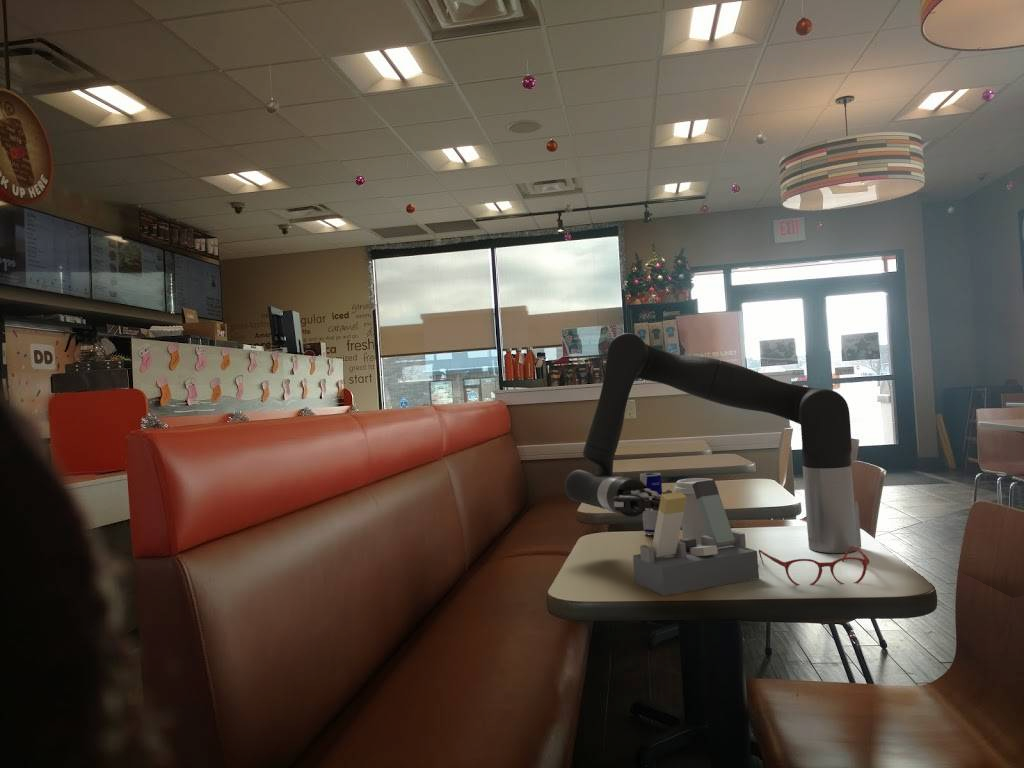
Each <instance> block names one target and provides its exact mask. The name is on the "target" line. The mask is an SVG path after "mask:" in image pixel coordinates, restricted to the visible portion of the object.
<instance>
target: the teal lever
mask: <svg viewBox="0 0 1024 768" xmlns="http://www.w3.org/2000/svg"><path fill="white" fill-rule="evenodd" d="M716 485H717V484H716V481H715V479H713V480H707V481H700V482H696V483H694V484H693V485H692V486H693V489H694V492H695V495H696V498H697V501H698V504H699V507H700V510H701V513H702V517H703V520H704V523H705V526H706V529H707V532H708V535H709V537H713V538H715V543H716V546H717V548H719V547H725V546H731V545H736V539H735V538H734V536H733V533H732V531H733V530H732V528H731V524H730V522H729V519H728V515H727V514H726V509H725V507H724V504H723V502H722V499H721V495H720V493H719V490H718V489H719V488H718V489H717V487H718V485H717V486H716Z"/></svg>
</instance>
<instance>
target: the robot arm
mask: <svg viewBox="0 0 1024 768" xmlns="http://www.w3.org/2000/svg"><path fill="white" fill-rule="evenodd" d="M636 379H637V380H644V381H649V382H654V383H658V384H659V383H660V384H663V385H667V386H669V387H672V388H674V389H676V390H679V391H681V392H684V393H686V394H688V395H689V394H690V395H692V396H695V397H697V398H700V399H704V400H706V401H710V402H713V403H716V404H719V405H724V406H727V407H731V408H735V409H736V408H737V409H741V410H746V411H747V410H748V411H753V412H754V411H756V412H762V413H768V414H771V415H774V416H777V417H781V418H782V419H785V420H789V421H791V422H794V423H796V424H798V425H800V431H801V432H800V433H801V461H802V474H803V475H802V476H803V477H802V478H803V490H804V500H805V501H804V502H805V517H806V526H807V527H806V528H807V530H806V531H807V538H808V548H809V550H812V551H815V552H820V553H827V554H845V553H846V552H847V550H848V549H849V548H850V547H857V548H858V549H861V548H862V536H861V524H860V512H859V511H860V509H859V503H858V501H857V500H855V498H854V497H855V495H854V484H853V483H854V482H853V473H852V472H853V471H852V449H853V447H852V446H853V445H852V430H851V429H852V428H851V427H852V426H851V415H850V408H849V405H848V402H847V401H846V399H845V398H844V397H843V395H842V394H840V393H838V392H837V391H835V390H832V389H827V388H817V387H816V388H815V387H809V386H803V385H797V384H792V383H788V382H784V381H780V380H776V379H774V378H772V377H770V376H767V375H765V374H763V373H761V372H758V371H757V370H753V369H750V368H747V367H745V366H743V365H739V364H735V363H732V362H729V361H728V362H727V361H726V360H720V359H718V358H717V359H716V358H713V357H712V358H711V357H706V356H698V355H697V356H696V355H686V354H677V353H674V352H673V353H672V352H669V351H665V350H664V349H663V350H662V349H660V348H657V347H655V346H653V345H649V344H648V343H646V342H645V341H644V340H643V339H642V338H641V337H640V336H639V335H638V334H635V333H631V332H624V333H620V334H618V335H616V336H615V337H614V338H613V339H612V340H611V341H610V343H609V345H608V347H607V351H606V362H605V369H604V376H603V381H602V387H601V390H600V396H599V399H598V402H597V405H596V410H595V411H594V415H593V418H592V421H591V425H590V428H589V430H588V433H587V437H586V441H585V445H584V448H583V452H582V455H583V458H584V459H586V460H587V461H589V462H590V463H592V464H594V465H595V467H596V468H595V469H596V473H593V472H589V471H587V470H583V469H576V470H573V471H571V472H570V473H569V474H567V476H566V478H565V481H564V492H565V494H566V496H567V497H568V498H569V499H570V500H572V501H574V502H577V503H582V504H585V505H589V506H592V507H596V508H600V509H604V510H606V511H607V510H608V511H609V512H611V513H612V514H613V513H614V514H616V515H620V516H624V517H628V518H637V517H639V516H641V515H643V513H644V512H646V511H655V510H656V511H659V505H660V499H661V495H659V494H658V493H657V492H655V491H651V489H648V488H647V487H646V485H645V484H644V483H643V482H641V481H640V479H636V478H632V477H625V476H619V475H618V476H613V474H614V473H613V472H614V460H615V455H616V452H617V449H618V446H619V442H620V439H621V435H622V431H623V430H622V429H623V426H624V422H625V421H624V420H625V414H626V408H627V404H628V400H629V397H630V393H631V389H632V387H633V385H634V383H635V380H636ZM669 493H673V490H671V489H670V490H669V489H668V490H665V491H662V494H669ZM855 551H857V550H856V549H855V548H852V549H851V550H850V551H849V552H848V553H852V552H853V553H854V552H855Z"/></svg>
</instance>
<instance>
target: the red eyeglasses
mask: <svg viewBox="0 0 1024 768" xmlns="http://www.w3.org/2000/svg"><path fill="white" fill-rule="evenodd" d="M852 548H855V549H856V551H857V552H859V554H860V555H861V556H862V557H863V558H860V557H847V556H848V553H850V552H849V551H850V550H851V549H852ZM758 553H759V558H760V560H761V563H762V565H765V564H764V560H763V558H762V555H764V556H765V557H767V558H769V559H770V560H771V561H773V562H774V563H776V564H778V565H779V566H782V567H784V569H785V573H786V575H787V578H788V579H789V581H790V582H791V583H793V584H794V585H796V586H800V585H801V584H799V583H797V582H796V581H794V580H793V579H792V577H791V576H790V574H789V567H790V566H791V565H793V564H794V563H798V562H811V563H814V564H815V565H817V567H818V573H817V576H816V578H815V580H813V582H812V583H809V584H810V586H814V585H816V584H817V583H818V581H819V580H820V579H821V576H822V574H823V567H824V568H825V567H829V569H830V573H831V576H832V577H833V579H834V580H835V581H836V582H837V583H838V584H839V585H845V583H844V582H841V581H840V580H838V579H837V577H836V575H835V574H834V573H835V572H834V568H835V566H836V564H838V563H839V562H843V563H844V562H845V561H847V560H852V561H853V560H854V561H855V560H856V561H859V562H860V563H861V564H862V566H863V568H862V574H861V576H860V577H859V578H858V580H856V581H854V582H853V584H854V585H855V583H857V584H859V583H860V582H861V581H862V580H863V579H864V578H865V575H866V573H867V569H868V568H867V567H868V564H870V559H869V557H868V556H867V554H865V553H864V552H863V551H862V550H861V549H860V548H857V547H850V548H849V549H848V550H847V552H846V553H844V555H843V557H841V558H838V559H836V560H834V561H832V562H831V561H829V562H819V561H817V560H814V559H811V558H798V559H797V558H796V559H792V560H788V561H787V560H786V561H785V562H784V561H783V560H780V559H778V558H776V557H774V556H771V555H769V554H768V553H766V552H764V551H763V550H761V549H758Z"/></svg>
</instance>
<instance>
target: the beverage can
mask: <svg viewBox="0 0 1024 768" xmlns="http://www.w3.org/2000/svg"><path fill="white" fill-rule="evenodd" d="M661 475H662V474H661V472H645V473H644V472H643V473H640V474H639V480H640V481H641V482H643V483H644V484H645V485H646V487H647V488H648V489H651V491H655V492H657V493H658V494H659V495H661V494H663V486H662V484H663V483H662V476H661ZM657 516H658V511H656V510H655V511H646V512H644V513H642V524H643V532H644V533H645V535H647V534H651V535H654V533H655V527H656V522H657Z"/></svg>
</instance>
